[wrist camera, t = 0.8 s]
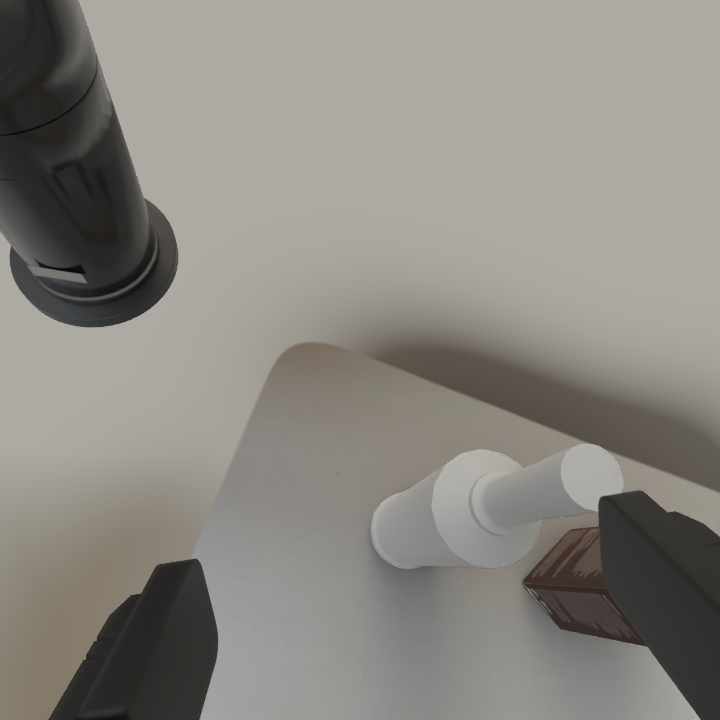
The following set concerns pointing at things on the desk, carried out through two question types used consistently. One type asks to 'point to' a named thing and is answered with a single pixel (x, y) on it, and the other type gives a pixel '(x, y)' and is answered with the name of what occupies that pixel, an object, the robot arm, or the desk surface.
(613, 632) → the box
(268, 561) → the desk surface
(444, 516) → the bottle
